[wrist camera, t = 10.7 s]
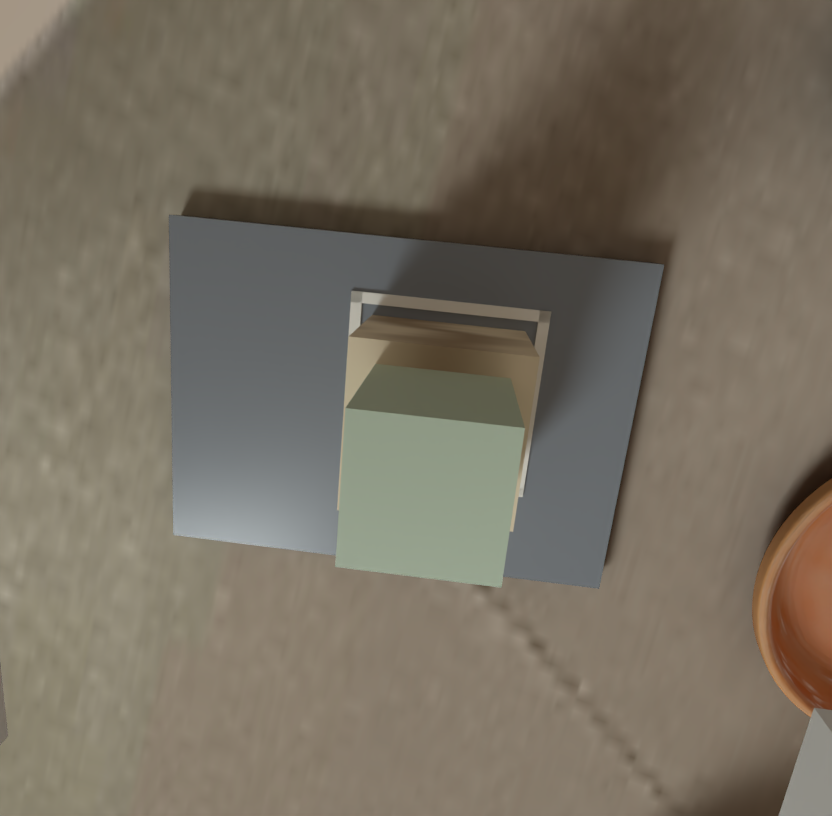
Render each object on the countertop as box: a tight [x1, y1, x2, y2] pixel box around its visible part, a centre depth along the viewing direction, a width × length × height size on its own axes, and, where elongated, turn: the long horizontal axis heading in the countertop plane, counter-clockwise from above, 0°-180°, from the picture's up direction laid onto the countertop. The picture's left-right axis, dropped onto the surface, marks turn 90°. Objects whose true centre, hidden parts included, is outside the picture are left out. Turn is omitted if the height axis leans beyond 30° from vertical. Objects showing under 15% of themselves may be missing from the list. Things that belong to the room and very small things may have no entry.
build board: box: [169, 215, 664, 589], centre depth 31 cm, size 22×16×1 cm
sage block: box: [335, 364, 525, 587], centre depth 21 cm, size 5×5×6 cm
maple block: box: [337, 315, 540, 532], centre depth 27 cm, size 7×7×6 cm
